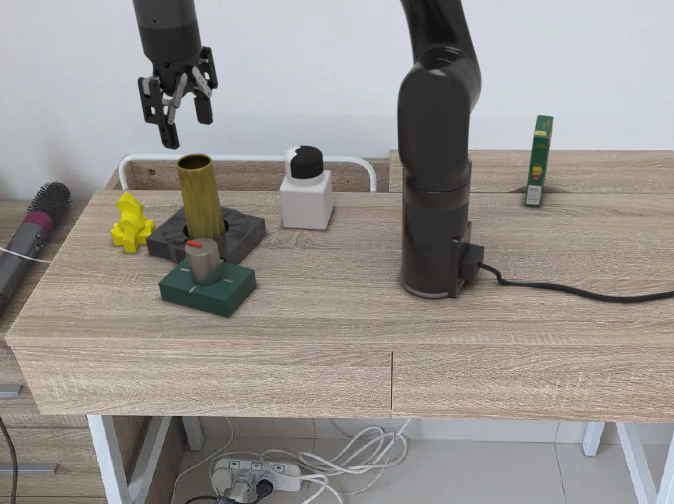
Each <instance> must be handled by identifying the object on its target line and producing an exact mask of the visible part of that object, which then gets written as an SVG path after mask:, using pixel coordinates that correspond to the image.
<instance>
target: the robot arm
mask: <svg viewBox="0 0 674 504" xmlns="http://www.w3.org/2000/svg"><path fill="white" fill-rule="evenodd" d="M399 3H400V5H401V7H402V10H403V13H404V16H405V20H406V25H407V29H408V36H409V40H410V46H411V53H412V54H411V55H412V67H411V68H410V70H409V71H408V72H407V73H406V75H405V76H404V78H403V79H402V80H401V82H400V85H399V89H398V94H397V101H396V127H397V129H396V130H397V153H398V154H397V155H398V159H399V162H400V164H401V167H402V179H401V181H402V183H401V184H402V185H401V187H402V189H401V191H402V193H401V195H402V197H401V198H402V199H401V269H400V270H401V273H400V283H401V285H402V286H403V288H404V289H405V290H406V291H408V292H409V293H410V294H412V295H415V296H417V297H421V298H424V299H425V298H426V299H442V298H447V297H449V298H454V299H455V298H456V297H457V296H458V294H459V292H460V291H461V289H462V288H463V286H464V285H465V282H466V281H468V282H471V283H473V282H474V280H475V279H476V277H477V275H478V274H479V271H480V269H483V270H486V271H487V272H490V273H492V274H494V275H495V276H496V280H497V282H498V283H499V284H501V285H504V286H511V287H525V288H537V289H540V288H541V289H542V288H543V289H554V290H561V291H566V292H570V293H574V294H577V295H581V296H584V297H588V298H592V299H595V300H596V299H597V300H600V301H601V300H602V301H608V302H622V303H623V302H626V303H627V302H640V301H641V302H642V301H649V300H655V299H662V298H668V297H674V290H670V291H665V292H664V291H663V292H658V293H651V294H644V295H634V296H633V295H631V296H620V295H619V296H617V295H606V294H602V293H601V294H600V293H599V294H598V293H595V292H591V291H588V290H585V289H580V288H577V287H573V286H569V285H565V284H560V283H552V282H513V281H509V280H507V279H504V278H502V273H501V272H500V271H499V270H498V269H496V268H495V267H493V266H491V265H488V264H485V263H484V259H485V258H484V257H485V256H484V255H485V246H484V245H479V244H474V243H471V241H472V228H473V227H472V226H473V222H472V221H471V220H469V210H470V209H469V208H470V197H471V196H470V195H471V182H472V169H473V160H472V157H471V154H470V153H469V138H470V123H471V114H472V113H473V111H474V109H475V107H476V106H477V104H478V102H479V100H480V96H481V93H482V86H483V78H482V72H481V71H482V70H481V67H480V64H479V60H478V56H477V53H476V49H475V45H474V43H473V39H472V36H471V32H470V29H469V25H468V22H467V18H466V14H465V10H464V7H463V6H464V5H463V1H462V0H399ZM132 7H133V10H134V15H135V19H136V25H137V29H138V34H139V37H140V42H141V48H142V51H143V55H144V56H145V57H146V58H147V59H148V60H149V61H150V63H151V65H152V74H151V76H148V77H143V76H139V77H138V78H137V88H138V93H139V99H140V104H141V109H142V114H143V120H144V122H145V124H150V125H156V126H157V128H158V131H159V137H160V141H161V145H162V146H163V147H164V148H165V149H168V150H174V151H176V150H178V149H179V148H180V147H181V145H180V140H179V135H178V129H177V125H176V122H175V117H176V113H177V110H178V109H179V108H180V107H181V104H182V100H183V98H184V97H186V95H187V94H188V93H191V94H192V95H193V96H195V97H194V98H193V103H194V109H195V113H196V120H197V122H198V123H199V124H201V125H207V126H210V125H212V124H213V122H214V118H213V116H214V115H213V114H214V113H213V108H212V102H211V99H212V96H213V91H214V90H217V88H219V81H218V76H217V71H216V67H215V66H216V65H215V60H214V55H213V50H212V47H210V46H205V45H203V44H202V40H201V33H200V28H199V21H198V16H197V10H196V4H195V0H132ZM206 74H207V75H208V78H206ZM164 95H166V96H167V97H168V98H171V99H168V98H164ZM165 107H167V111H166V114H165ZM152 108H153V109H154V111H152Z"/></svg>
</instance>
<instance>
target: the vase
mask: <svg viewBox="0 0 674 504" xmlns="http://www.w3.org/2000/svg"><path fill="white" fill-rule="evenodd" d="M175 166H176V169H177V175H178V181H179V188H180V193H181V199H182V205H183V206H184V212H185V218H186V223H187V229H188V235H189V239H192V240H194V239H198V238H210V239H216V238H218V237H221V236H223V235H224V234H225V233H226V230H225V225H224V221H223V217H222V212H221V201H220V197H219V196H220V195H219V191H218V185H217V180H216V174H215V169H214V168H215V167H214V163H213V158H212V157H211V156H210V155H207V154H205V153H190V154H185V155H184V156H181V157H180V158H178V159H177V160H176V161H175Z"/></svg>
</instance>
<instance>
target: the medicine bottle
mask: <svg viewBox="0 0 674 504" xmlns="http://www.w3.org/2000/svg"><path fill="white" fill-rule="evenodd" d="M323 154H324V153H323V152H322V151H321V149H320V148H318V147H316V146H312V145H305V144H304V145H297V146H292V147H291V148H289V149H287V150H286V151H285V153H284V154H283V159H284V160H283V161H284V170H285V175H284V178H283V180H282V182H281V185H280V188H279V191H278V192H279V201H280V209H281V217H282V225H283V226H282V227H283V228H285V229H286V228H287V229H303V230H305V229H306V230H321V231H322V230H323V231H325V230H327V228H328V225H329V221H330V218H331V216H332V212H333V210H334V202H333V201H334V200H333V185H332V184H333V183H332V171H331V170H326V169H325V167H324V166H325V165H324V155H323Z"/></svg>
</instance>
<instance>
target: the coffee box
mask: <svg viewBox="0 0 674 504" xmlns="http://www.w3.org/2000/svg"><path fill="white" fill-rule="evenodd" d="M554 119H555V118H554V116H551V115H543V114H538V115H537V117H536V121H535V126H534V132H533V138H532V143H531V145H532V146H531V153H530V159H529V167H528V174H527V182H526V188H525V189H526V190H525V199H524V206H525V207H533V208H540V207H541V202H542V198H543V195H544V190H545V189H544V187H545V181H546V175H547V170H548V162H549V157H550V156H549V155H550V149H551V143H552V136H553V129H554Z"/></svg>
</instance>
